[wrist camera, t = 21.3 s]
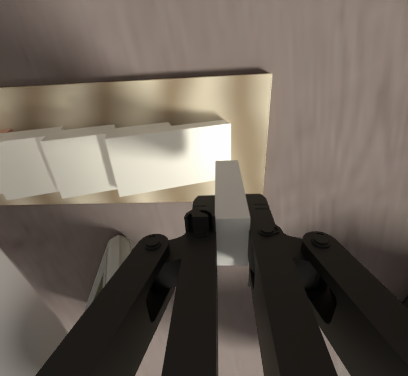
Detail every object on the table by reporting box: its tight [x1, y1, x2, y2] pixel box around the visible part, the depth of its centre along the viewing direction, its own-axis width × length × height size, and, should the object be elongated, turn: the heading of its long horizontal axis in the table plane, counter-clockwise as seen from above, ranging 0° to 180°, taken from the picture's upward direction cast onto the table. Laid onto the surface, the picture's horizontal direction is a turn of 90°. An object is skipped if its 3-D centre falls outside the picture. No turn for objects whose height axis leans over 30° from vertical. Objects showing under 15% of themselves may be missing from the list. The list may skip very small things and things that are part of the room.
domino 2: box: [40, 122, 171, 199], centre depth 21 cm, size 2×5×10 cm
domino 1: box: [0, 124, 116, 200], centre depth 21 cm, size 2×5×10 cm
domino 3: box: [105, 120, 231, 197], centre depth 20 cm, size 2×5×10 cm
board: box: [0, 73, 272, 205], centre depth 23 cm, size 30×12×1 cm, turn 93°
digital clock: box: [85, 235, 131, 311], centre depth 28 cm, size 16×9×11 cm, turn 144°
